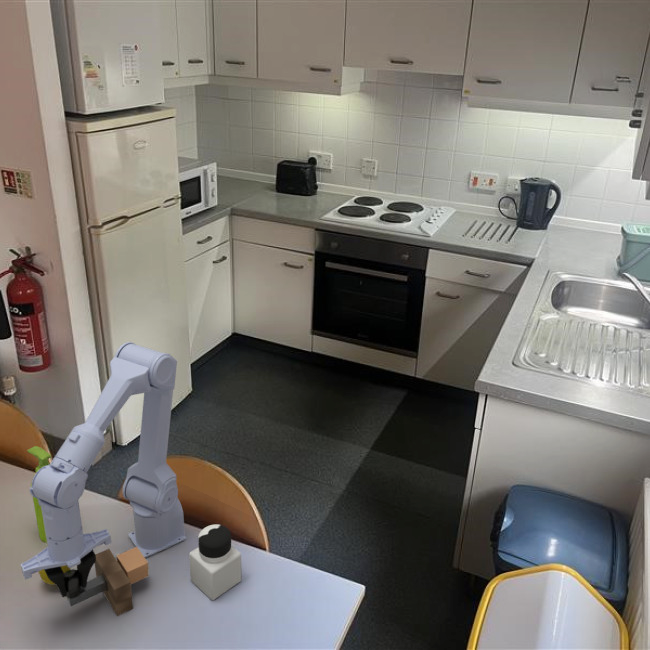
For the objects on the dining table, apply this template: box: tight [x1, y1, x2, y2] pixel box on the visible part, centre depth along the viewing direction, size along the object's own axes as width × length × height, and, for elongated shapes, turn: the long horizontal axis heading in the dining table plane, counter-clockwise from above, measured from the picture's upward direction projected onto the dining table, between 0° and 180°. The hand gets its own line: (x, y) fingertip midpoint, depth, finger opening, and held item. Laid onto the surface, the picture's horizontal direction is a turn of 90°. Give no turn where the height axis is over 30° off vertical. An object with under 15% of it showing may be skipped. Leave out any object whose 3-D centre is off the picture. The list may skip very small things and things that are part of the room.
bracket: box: [94, 548, 134, 617], centre depth 118 cm, size 3×10×6 cm, turn 38°
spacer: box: [116, 546, 149, 585], centre depth 120 cm, size 4×5×4 cm
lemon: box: [38, 565, 71, 586], centre depth 120 cm, size 6×6×8 cm
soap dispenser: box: [26, 445, 52, 544], centre depth 129 cm, size 6×7×20 cm
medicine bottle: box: [188, 523, 242, 601], centre depth 121 cm, size 7×7×12 cm
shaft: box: [64, 568, 108, 608], centre depth 116 cm, size 15×3×6 cm, turn 128°
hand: (72, 588), depth 113 cm, fingers closed on shaft, 3 cm apart
